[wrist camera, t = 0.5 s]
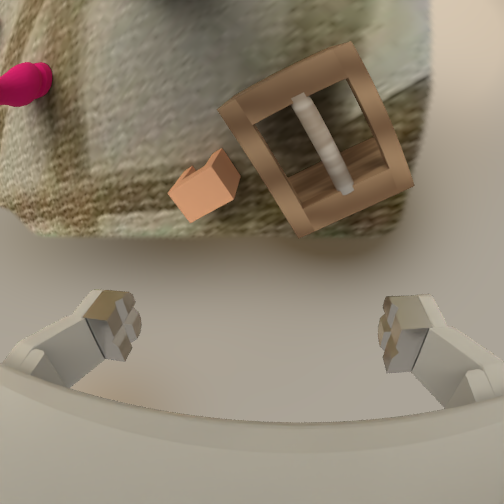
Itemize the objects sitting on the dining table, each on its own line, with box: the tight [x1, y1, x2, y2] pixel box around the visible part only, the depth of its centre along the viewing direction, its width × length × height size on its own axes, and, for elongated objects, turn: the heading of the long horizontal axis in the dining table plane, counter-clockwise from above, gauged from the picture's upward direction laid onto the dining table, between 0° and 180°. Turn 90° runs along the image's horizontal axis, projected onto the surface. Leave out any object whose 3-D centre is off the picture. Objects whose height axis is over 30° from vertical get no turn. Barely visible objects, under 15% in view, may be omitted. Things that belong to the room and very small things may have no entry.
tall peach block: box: [168, 148, 241, 223], centre depth 41 cm, size 5×7×8 cm
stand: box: [217, 42, 414, 239], centre depth 33 cm, size 16×14×14 cm
